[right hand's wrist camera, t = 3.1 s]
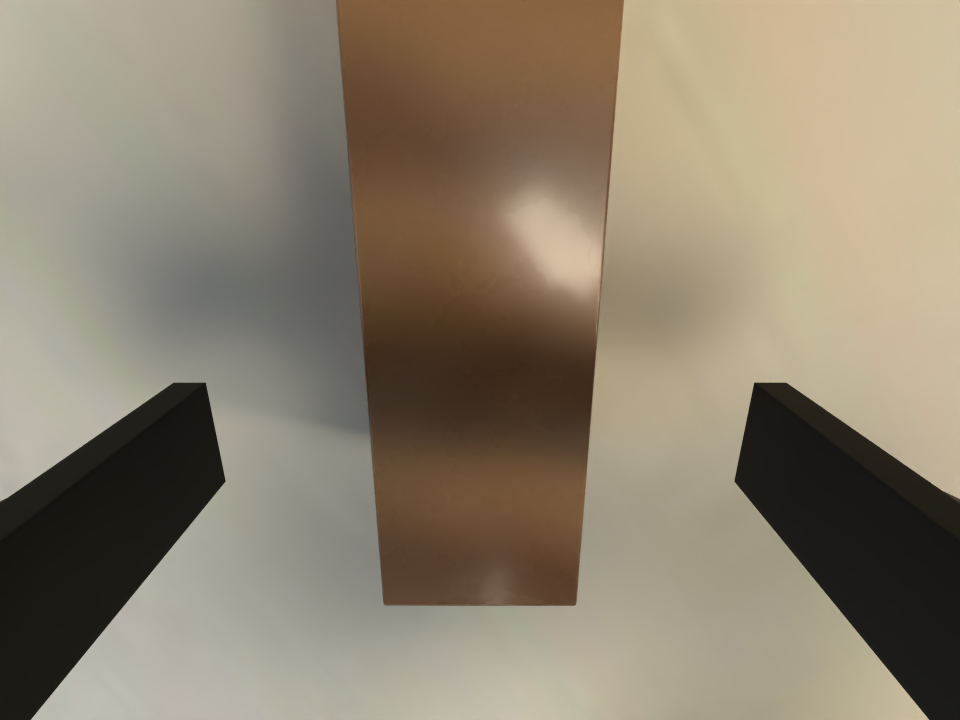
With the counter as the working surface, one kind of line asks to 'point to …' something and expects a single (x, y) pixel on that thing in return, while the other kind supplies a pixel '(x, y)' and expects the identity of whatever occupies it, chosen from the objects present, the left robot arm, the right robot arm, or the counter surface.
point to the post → (479, 282)
